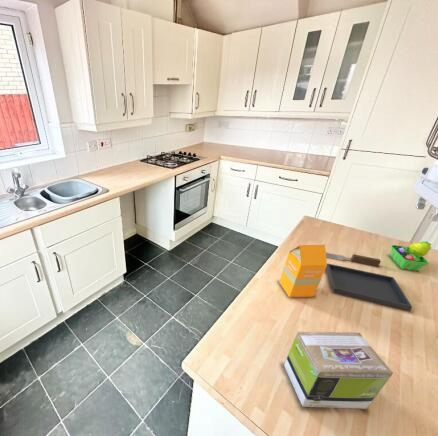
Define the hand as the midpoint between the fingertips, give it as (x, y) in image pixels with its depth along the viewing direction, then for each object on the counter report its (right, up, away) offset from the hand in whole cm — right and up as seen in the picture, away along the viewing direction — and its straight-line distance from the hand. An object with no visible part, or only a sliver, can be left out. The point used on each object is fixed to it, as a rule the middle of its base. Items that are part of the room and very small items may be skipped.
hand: (425, 214), depth 84 cm
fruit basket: (+12, -21, +18) cm, 30 cm away
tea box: (-53, -44, -22) cm, 72 cm away
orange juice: (-41, -28, +7) cm, 50 cm away
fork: (-9, -20, +20) cm, 30 cm away
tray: (-16, -27, +7) cm, 32 cm away
